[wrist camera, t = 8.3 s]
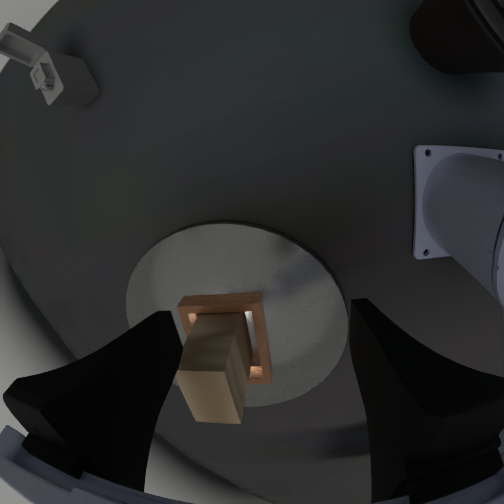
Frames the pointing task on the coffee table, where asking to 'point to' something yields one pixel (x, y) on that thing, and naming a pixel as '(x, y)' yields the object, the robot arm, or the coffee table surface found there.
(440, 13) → the coffee cup
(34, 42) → the lighter
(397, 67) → the coffee table surface
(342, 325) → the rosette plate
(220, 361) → the wood grain block
